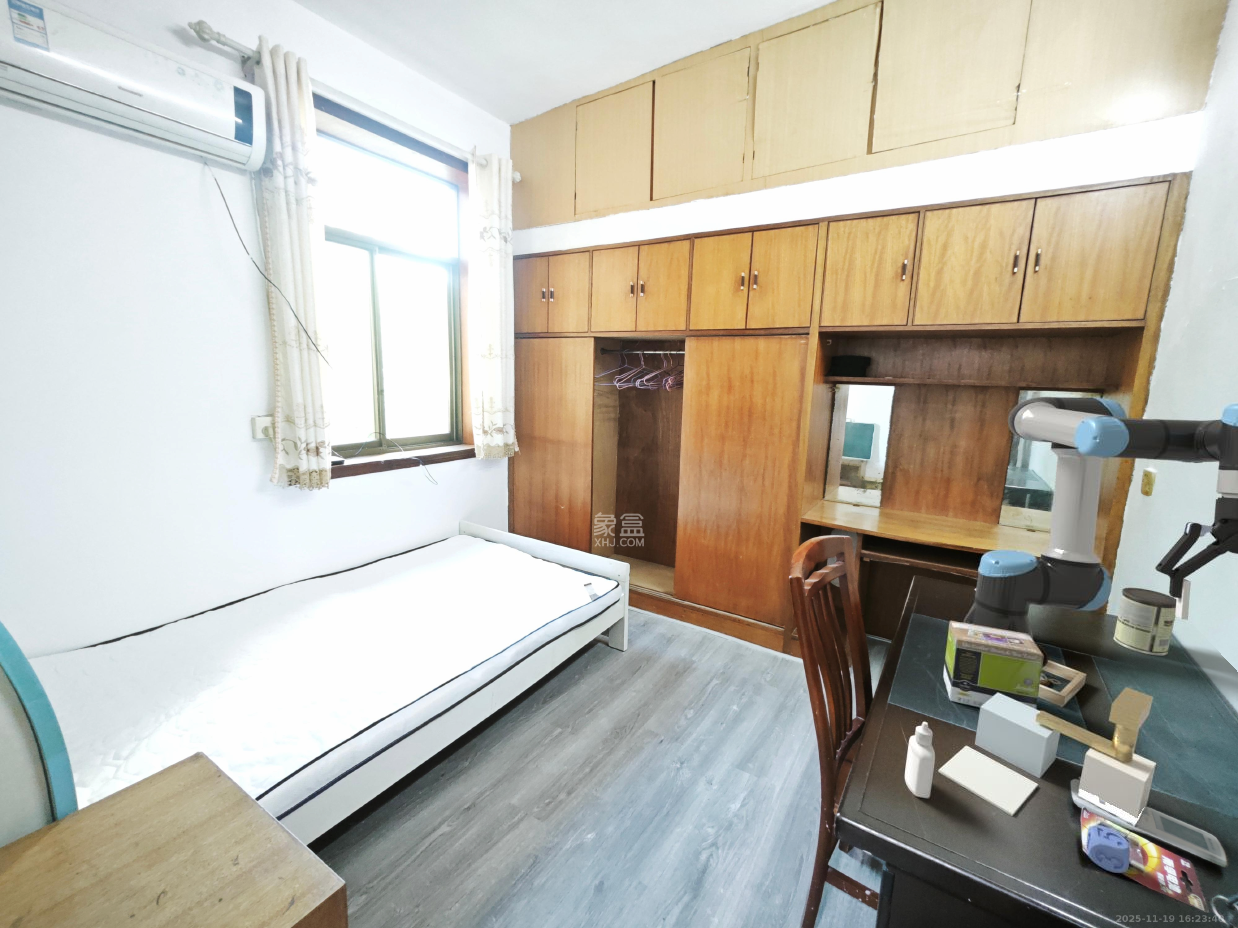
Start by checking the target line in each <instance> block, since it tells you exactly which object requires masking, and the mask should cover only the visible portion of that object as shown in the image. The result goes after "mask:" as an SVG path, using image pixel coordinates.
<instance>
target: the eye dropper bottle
mask: <svg viewBox="0 0 1238 928" xmlns="http://www.w3.org/2000/svg"><path fill="white" fill-rule="evenodd" d="M933 734H934V733H933V731H932V730H931V728H929V724H928V722H926V721H923V722H922V723H921V725H918V726H916V727H915V732H914V735H911V736H910V737H909V739H908V748H907V754H906V761H905V771H904V781H905V784H906V786H907V788H908V790H909V791H910V792H911V793H912V794H913V795H914V796H915V797H918V798H923V799H930V797H931V791H932V784H933V776H934V775H933V774H934V768H935V762H936V761H935V760H936V754H935V749H934V747H933V745H932V742H933Z"/></svg>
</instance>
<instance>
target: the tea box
mask: <svg viewBox="0 0 1238 928" xmlns="http://www.w3.org/2000/svg"><path fill="white" fill-rule="evenodd" d="M946 642H947V643H946V649H945V657H944V665H943V680H944V683H945V687H946V690H947V691H946V692H947V694H948V698H949V700H950V701H951V702H955V703H958V704H959V703H960V704H963V705H966V706H967V705H969V706H973V707H977V708H980V707H981V706H982V705H983V704H985V703H986V702H987V701H988V700H989V699H991V698H992V697H993V696H994V695H995V694H997V693H1000V694H1002V695H1005V696H1007V697H1009V698H1011V699H1014V700H1016V701H1018V702H1021V703H1023V704H1025V705H1027V706H1030V707H1032V708H1034V709H1036V710H1037V706H1038V699H1039V697H1038V693H1039V686H1040V679H1041V673H1042V671H1043V670H1042V665H1043V656H1044V655H1043V654H1042V653H1041V651H1040V650H1039V648H1038V647H1037V645H1036V644H1037V643H1036V642H1035V641H1034V639H1033V640H1032V638H1031V637H1030V634H1026V633H1020V632H1014V631H1008V630H1002V629H996V628H991V627H985V626H979V625H973V624H967V623H964V622H959V621H955V620H949V623H948V633H947V641H946Z"/></svg>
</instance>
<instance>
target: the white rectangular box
mask: <svg viewBox="0 0 1238 928" xmlns="http://www.w3.org/2000/svg"><path fill="white" fill-rule="evenodd" d="M1156 765H1157V763H1156V762H1155V761H1152V760H1150V759H1148V758H1145V757H1143V756H1141V755H1139V754H1137V753H1134V755H1133V759H1132V762H1124V761H1121V760H1119V759H1117V758H1115V757H1113V756H1111V755H1108V754H1106V753H1104V752H1102V751H1100V750H1097V749H1095V748H1093V747H1091V746H1090V748H1089V749H1088V750H1087V751H1086V753H1085V755H1084V761H1083V765H1082V769H1081V770H1082V771H1081V776H1080V780H1079V781H1080V782H1079V786H1078V790H1079V789H1082V790H1084V791H1086V792H1088V793H1091V794H1093V795H1096V796H1098V797H1100V798H1101V799H1102V800H1104V801H1105V802H1107V803H1109V804H1110V805H1113V806H1115V807H1117V808H1119V809H1122V810H1123V811H1125V812H1127V813H1129V814H1130V815H1132V816H1134V817H1135V818H1138V816H1139V814H1140V813H1141V811H1142V809H1143V808H1144V807H1146V808H1147V806H1148V800H1149V795H1150V792H1151V787H1152V782H1153V778H1154V775H1155V774H1154V773H1155V770H1156V769H1155V768H1156Z"/></svg>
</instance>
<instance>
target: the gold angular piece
mask: <svg viewBox="0 0 1238 928" xmlns="http://www.w3.org/2000/svg"><path fill="white" fill-rule="evenodd" d="M1153 699H1154V696H1152V695H1150V694H1149V695H1148V694H1147V693H1143V692H1141V691H1139V690H1136V689H1132V688H1131V687H1127V686H1125V688H1124V689H1122V691H1121V692H1120V694H1119V695H1118V696H1117V697H1116V698H1115V699H1114V701H1113V702H1112V703H1111V707H1110V712H1109V717H1108V721H1109V722H1111V723H1112V724H1113V723H1114V726H1115V727H1114V731H1113V736H1112V740H1111V739H1110V740H1109V739H1107V738H1105V737H1103V736H1101V735H1098V734H1097V733H1094V732H1091V731H1089V730H1088V729H1085V728H1083V727H1080V726H1078V725H1076V724H1073V723H1071V722H1069V721H1066V720H1064V719H1062V718H1060V717H1058V716H1056V715H1053V714H1050V713H1048V712H1046V711H1044V710H1039V711H1040V712H1039V713H1038V714H1037V715H1036V722H1039V723H1041V724H1043V725H1045V726H1047V727H1049V728H1052V729H1054V730H1056V731H1058V732H1060V734H1063V735H1064V736H1067V737H1069V738H1072V739H1074V740H1076V741H1078V742H1080V743H1081V744H1082V743H1083V744H1085V745H1087V746H1089V747H1090V748H1091V747H1093V748H1095V749H1097V750H1100V751H1102V752H1104V753H1106V754H1108V755H1111V756H1113V757H1115V758H1117V759H1119V760H1121V761H1124V762H1132V759H1133V755H1134V754H1135V750H1136V745H1137V740H1138V737H1139V736H1138V735H1139V730H1140V729H1141V727H1142V726H1143V723H1145V721H1146V719H1147V718H1148V717H1149V715H1150V713H1151V708H1152V703H1153Z"/></svg>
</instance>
